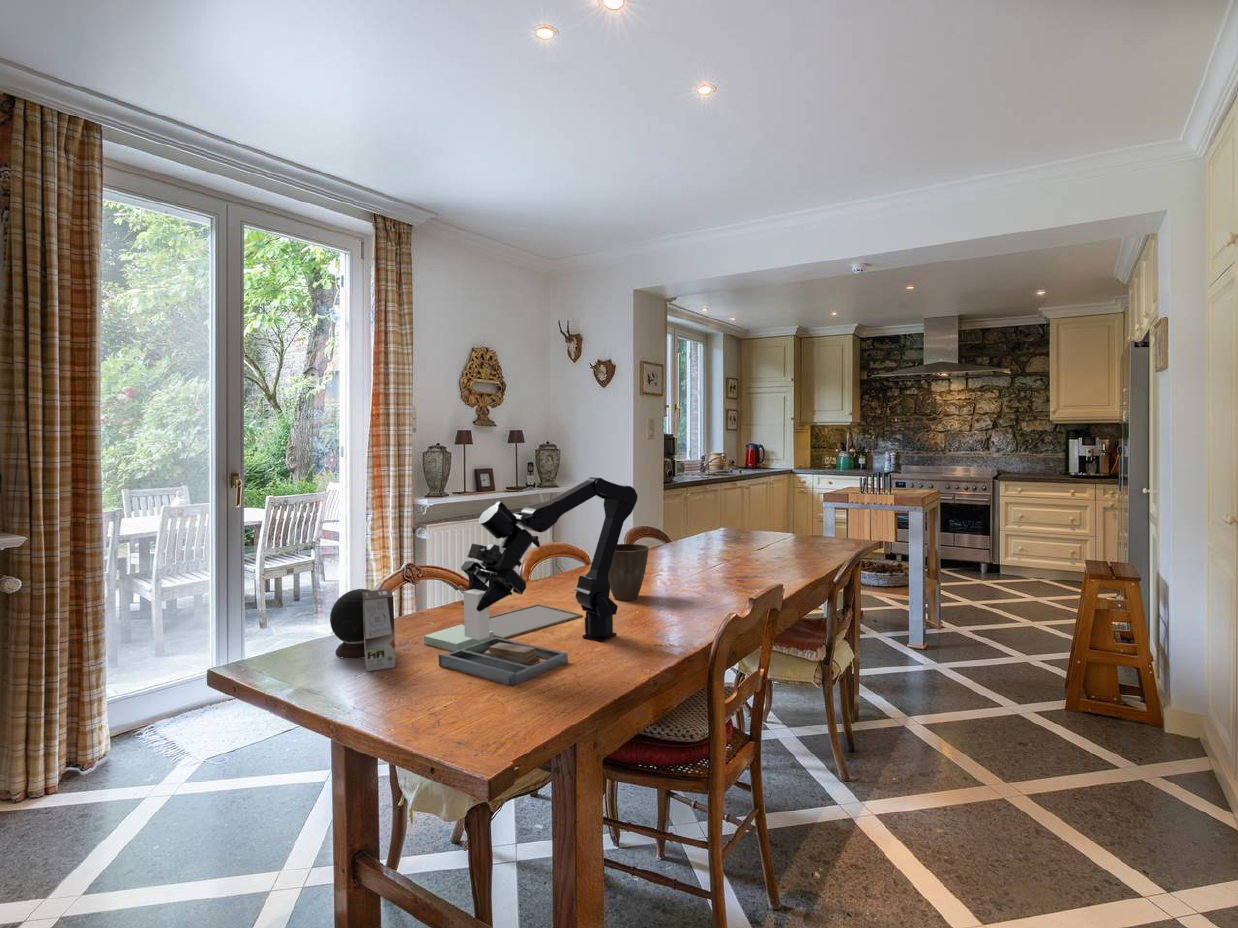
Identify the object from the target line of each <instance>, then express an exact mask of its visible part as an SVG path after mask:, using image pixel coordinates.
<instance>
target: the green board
mask: <svg viewBox="0 0 1238 928" xmlns="http://www.w3.org/2000/svg"><path fill="white" fill-rule="evenodd" d="M460 624H461V625H459V624H457V625H456V626H451V627H448V628H446V629H442V630H441V629H440V630H438V631H435V632H432V633H428V634H425V635H423V644H424V645H427V646H430V647H431V646H432V647H435V648H439V649H443V650H447V651H452V652H454V651H457V650H460V649H462V648H465V647H468V646H471V645H474V644H477V643H480V642H483V641H486V640H489V639H491V638H494V637H493V631H490V637H488V638H484V639H481V640H476V639H473V638H469V637H466V636H465V628H464V625H462V623H460Z"/></svg>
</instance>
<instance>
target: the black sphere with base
mask: <svg viewBox="0 0 1238 928" xmlns="http://www.w3.org/2000/svg"><path fill="white" fill-rule="evenodd" d="M367 591H372V590H370V589H365V588H358V589H357V588H356V589H353V590H350V591H347V592H345V593H344V594H342V595H341V596H339V598H338V599H337V600H336V601H335V602H334V604H333V606H332V608H331V611H330V613H329V615H330V616H329V622H330V627H331V630H332V633H334V635H335V636H336V637H337V638H338V639H339V640H340V641H342V643H340V644H339V645H338V647H337V648H336V650H335V656H336V655H337V656H339V657H343V658H342V659H345V658H357V659H363V658H362V657H365V649H364V624H363V592H367ZM337 656H336V657H337ZM339 657H338V658H339Z"/></svg>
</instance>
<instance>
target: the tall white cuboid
mask: <svg viewBox="0 0 1238 928" xmlns="http://www.w3.org/2000/svg"><path fill="white" fill-rule="evenodd" d="M485 592H486V591H481V590H477V589H472V590H468V591H467V590H464V591H462V594H463V601H464V606H463V619H464V620H463V623H464V628H465V636H466V637H469V638H473V639H476V640H481V639H484V638H488V637H490V628H489V617H490V606H489V607H487V608H485V609H484V610H482V611H480V612H479V611H478V610H477V609H476V608H477V606H478V604H479V602H480V600H481V599H482V597H483V595H484V594H485Z"/></svg>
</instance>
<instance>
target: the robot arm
mask: <svg viewBox="0 0 1238 928" xmlns="http://www.w3.org/2000/svg"><path fill="white" fill-rule="evenodd" d="M595 496H596V497H597V498H600V499H603V510H604V517H605V518H604V520H603V524H602V527H601V528H602V529H601V530H600V533H599V534H600V535H599V537H598V541H597V545H596V548H595V551H594V555H593V559H592V562H591V565H590V569H589V571H588V572H587V573H586V574H585V575H579V577H578V579H577V585H576V587H575V588H574V591H575V599H576V600H577V603H578V604H579V605H580V607H581V609H582V611H583V612H585V617H584V633H585V634H582V635H581V637H582V638H584V639H589V640H594V641H598V642H604V641H606V640H609V639H611V638H614V637H616V636H617V632H614V622H613V621H614V620H613V618H614V617H613V616H615V615H616V614H617V611H618V609H619V606H618V605H617V604H616V603H615V602H614V601H613V600H612V599H611V598H610V593H611V589H610V583H609V577H608V576H609V572H610V568H611V565H612V561H613V558H614V554H615V551H616V547H617V544H619V539H620V536H621V533H622V530H623V525H624V523H625V521H626V520H627V518H628V517H630V515H631V514H632V513H633V510H634V508H635V506H636V504H637V501H638V494H637V491H636V489H635V488H634V487H633V486H630V485H622V484H616V483H613V482H611V481H608V480H605V479H604V478H602V477H592V476H591V477H588V478H587V479H586V480H584V481H583V482H581V483H579V484H577V485H576V486H574V487H572V488H570V489H568V490H567V491H565V492H563V493H561V494H560V495H557V496H556V497H554V498H552V499H550V500H547V501H541V502H537V503H534V504H530V505H528V506H525V507H524V508H523V509H522V510H521V511H520V512H517V513H513V512H511V511H510V509H509V508H508V507H507V506H506V504H505V503H504V502H502V501H496V502H495V504H493V505H491V506H490V507H488V508H487V509H486V510H484V511H483V512H481V515H480V516H479V518H478V523H479V524H480V525H481V526H482V527H483V528H484V529H485V530H486V531H488V532H489V533H490V534H491V535H492V536H493V537H494V538H495V539H496V540H497V539H498V540H499V539H501V538H502V539H503V541H502V542H501V544H500V545H499V544H498V545H497V544H494V543H489V544H488V545H482V544H479V543H477V544H476V543H471V546H470V548H469V551H468V554H467V558H470V559H474V560H467V561H464V562H463V564H462V565H461V567H460V570H461V571H462V572H464V573H465V574H466V576H468V577H467V578H468V584H467V585H468V586H467V589H466V591H468V590H472V589H477V590H481V591H486V592H485V594H484V595H483V597H482V599H481V600H480V602H479V604H478V606H477V608H476V609H477V610H478V611H479V612H480V611H482V610H484V609H485V608H487V607H489V608H490V606H491V605H493V604H495V603H497V602H499V601H501V600H503V599H505V598H506V597H508V596H512V595H513V593H515V594H516V595H517V594H518V595H523V594H524V592H525V590H527V581H526V580H525V578H523V577H521V575H520V574H519V573H518V572H517V571H516V570H515V568H516V567H517V568H520V567H521V566H522V564H523V563H522V562H521V559H522V558H523V556H524V555H525V553H526V552H527V551H528V549H529V548H537V549H538V548H540V547H541V545H540V541H539V535H532V533H531V532H530V531H532V532H537V533H544V532H547V531H548V530H549V529H550V528H552V526H554V525H555V524H556V523H557V522H558V520H559V519H560V518H561V516H563V515H564V514H565V513H568V512H569V511H571V510H573V509H575V508H576V507H578V506H580V505H582V504H583V503H585V502H587V501H589V500H591V499H592V498H594V497H595ZM519 526H522V528H520V527H519ZM475 560H478V561H480V562H477V561H475ZM487 584H488V585H487ZM512 590H513V592H512ZM462 606H463V607H464V600H463V601H462Z"/></svg>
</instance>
